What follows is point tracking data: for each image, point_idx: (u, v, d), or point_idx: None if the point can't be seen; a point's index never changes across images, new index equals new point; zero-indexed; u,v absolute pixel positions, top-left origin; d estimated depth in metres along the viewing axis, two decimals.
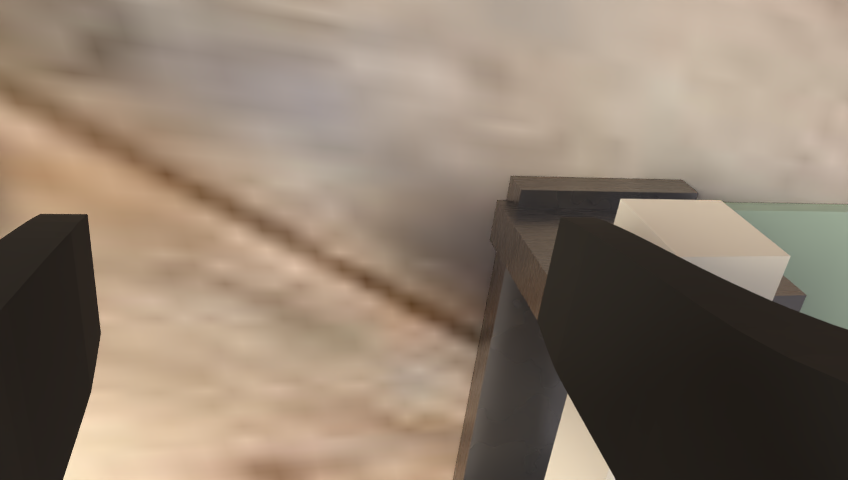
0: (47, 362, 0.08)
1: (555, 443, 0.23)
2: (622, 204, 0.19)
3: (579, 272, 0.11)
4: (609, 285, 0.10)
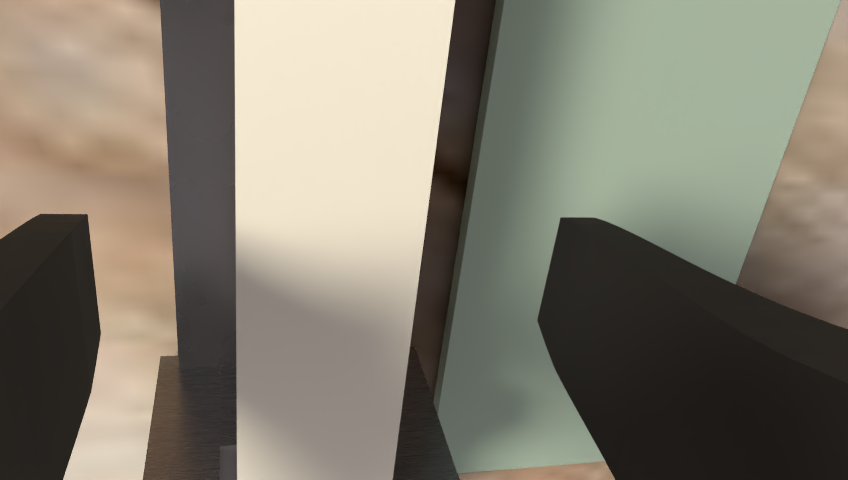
0: (47, 361, 0.08)
1: None
2: None
3: (579, 272, 0.11)
4: (609, 285, 0.10)
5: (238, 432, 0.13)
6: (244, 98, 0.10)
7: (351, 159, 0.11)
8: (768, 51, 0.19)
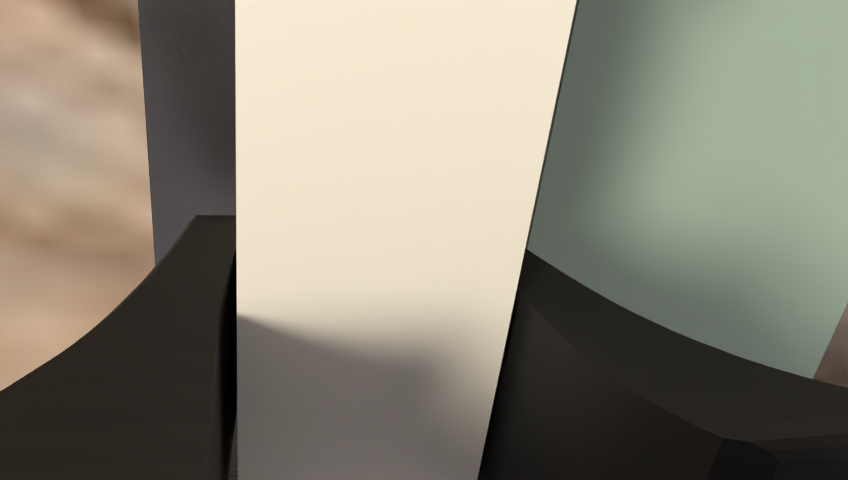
0: (229, 355, 0.09)
1: None
2: None
3: None
4: None
5: None
6: (249, 222, 0.07)
7: (401, 297, 0.08)
8: None
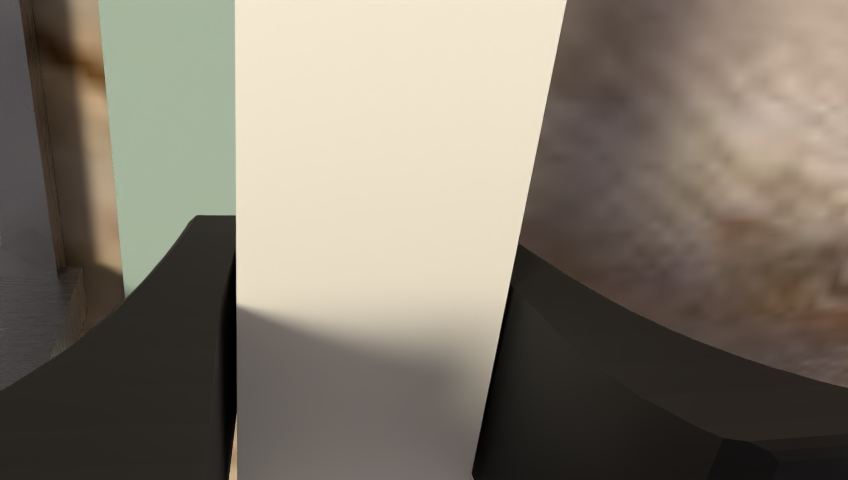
0: (229, 354, 0.09)
1: None
2: None
3: None
4: None
5: None
6: (248, 210, 0.07)
7: (398, 284, 0.08)
8: None
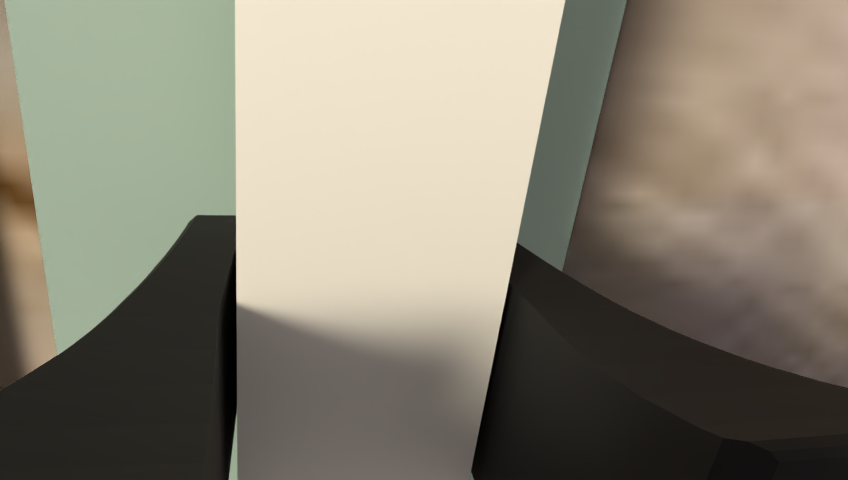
0: (229, 354, 0.09)
1: None
2: None
3: None
4: None
5: None
6: (249, 207, 0.07)
7: (397, 281, 0.08)
8: None
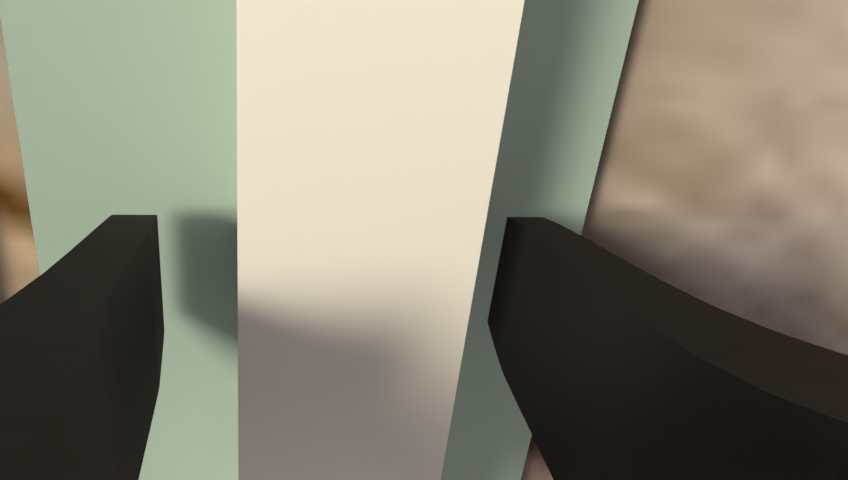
0: (131, 359, 0.09)
1: None
2: None
3: (523, 273, 0.11)
4: (549, 286, 0.10)
5: None
6: (248, 164, 0.08)
7: (382, 235, 0.09)
8: None
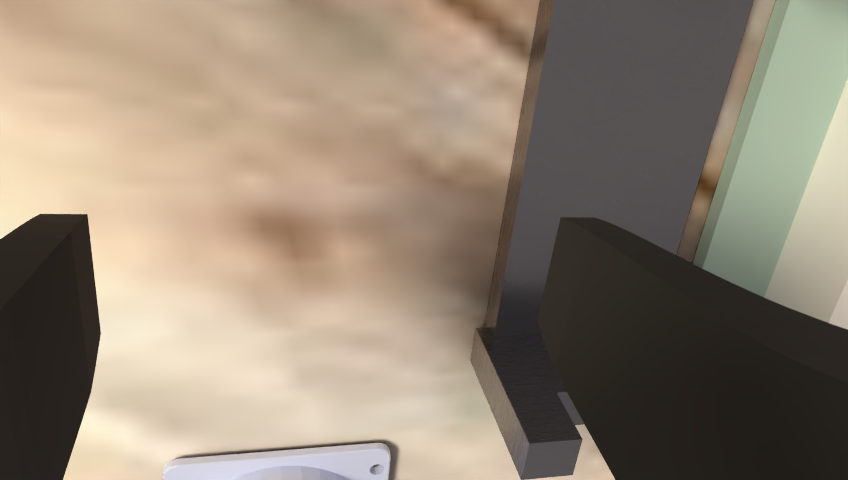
0: (46, 362, 0.08)
1: (817, 162, 0.25)
2: None
3: (579, 272, 0.11)
4: (609, 285, 0.10)
5: None
6: None
7: None
8: None
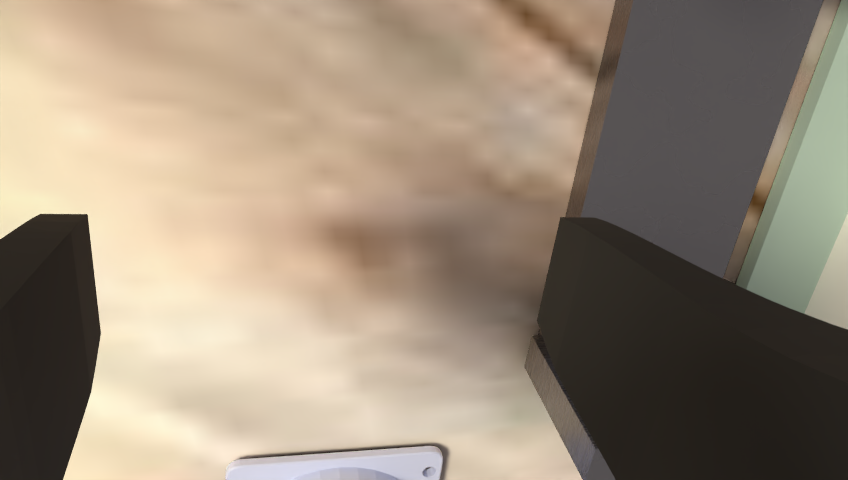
0: (47, 362, 0.08)
1: None
2: None
3: (579, 272, 0.11)
4: (609, 285, 0.10)
5: None
6: None
7: None
8: None
